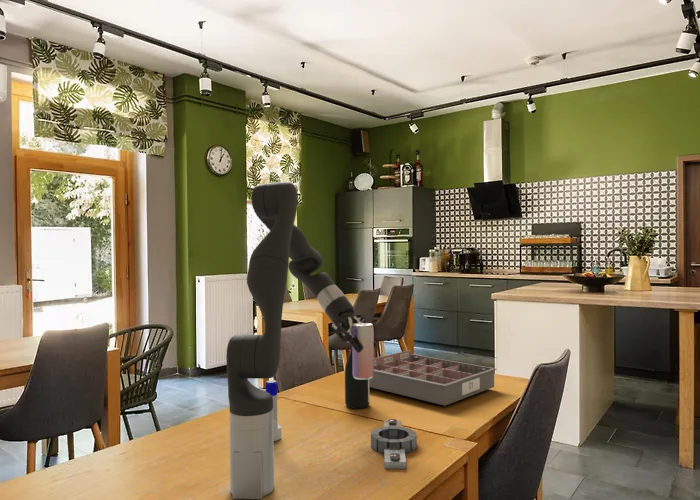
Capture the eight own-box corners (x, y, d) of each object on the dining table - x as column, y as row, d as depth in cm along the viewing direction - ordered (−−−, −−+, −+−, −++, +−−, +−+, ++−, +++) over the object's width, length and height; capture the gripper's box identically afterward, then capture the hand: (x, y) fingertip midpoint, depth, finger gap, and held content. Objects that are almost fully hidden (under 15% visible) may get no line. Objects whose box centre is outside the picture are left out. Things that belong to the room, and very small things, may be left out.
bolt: (284, 439, 142) (267, 443, 139) (276, 434, 146) (259, 437, 143) (283, 381, 142) (266, 384, 139) (276, 378, 146) (259, 380, 143)
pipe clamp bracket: (420, 469, 122) (420, 456, 122) (370, 468, 122) (369, 455, 122) (412, 426, 151) (412, 416, 151) (372, 426, 151) (371, 415, 151)
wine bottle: (360, 400, 177) (359, 312, 176) (374, 406, 170) (373, 314, 170) (340, 404, 172) (339, 314, 172) (353, 411, 166) (352, 316, 165)
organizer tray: (445, 411, 165) (445, 379, 165) (355, 388, 194) (355, 361, 194) (497, 390, 188) (497, 363, 188) (410, 372, 216) (409, 348, 216)
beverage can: (348, 378, 146) (348, 324, 146) (358, 374, 151) (358, 322, 151) (368, 381, 143) (367, 326, 143) (377, 376, 148) (376, 323, 148)
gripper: (325, 297, 146) (360, 344, 139) (357, 293, 157) (390, 336, 150) (311, 314, 149) (344, 361, 142) (343, 310, 160) (375, 353, 153)
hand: (367, 348), depth 146 cm, fingers closed on beverage can, 6 cm apart
